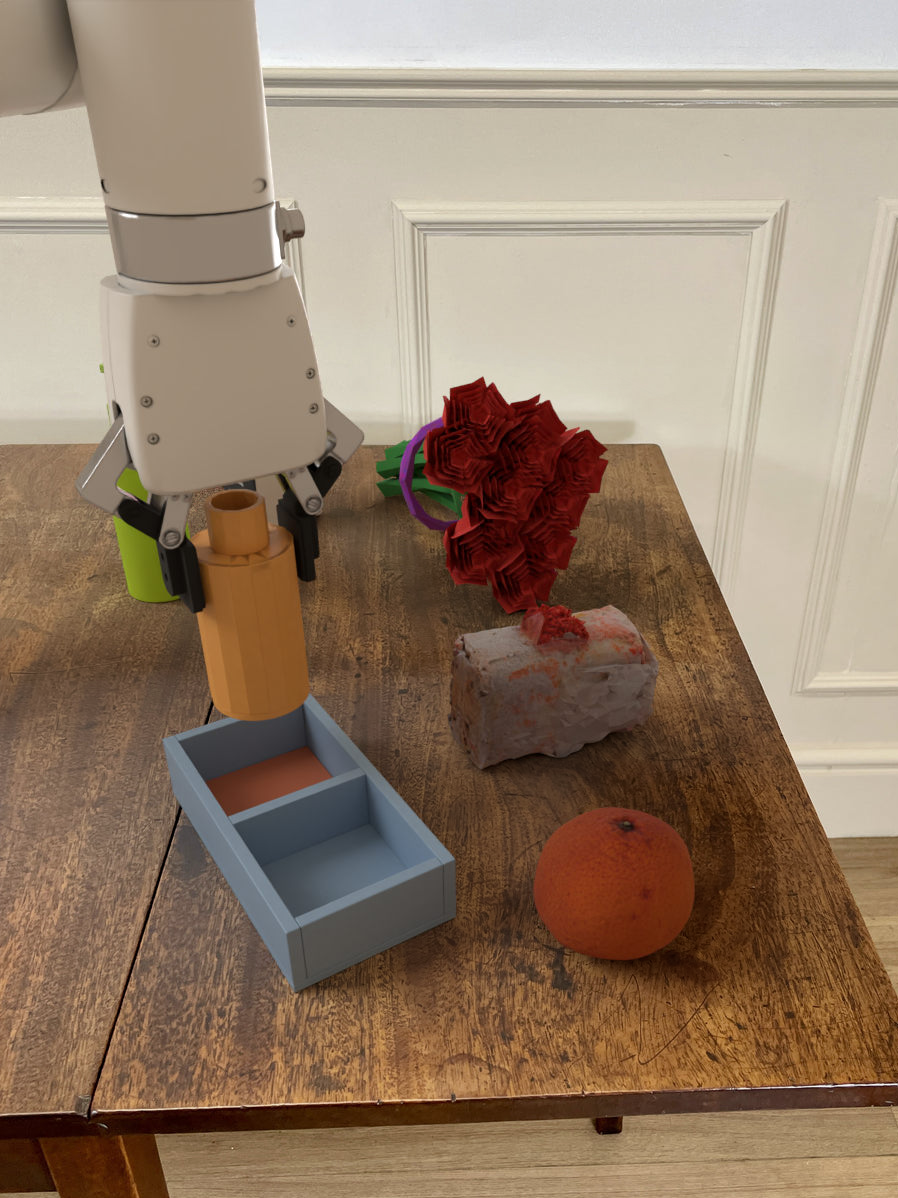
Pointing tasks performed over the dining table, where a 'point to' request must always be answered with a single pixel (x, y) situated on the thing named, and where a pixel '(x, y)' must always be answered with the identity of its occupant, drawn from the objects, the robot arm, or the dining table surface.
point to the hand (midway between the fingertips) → (245, 584)
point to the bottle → (250, 609)
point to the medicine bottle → (265, 493)
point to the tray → (311, 839)
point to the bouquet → (499, 488)
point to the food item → (549, 684)
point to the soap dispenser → (139, 547)
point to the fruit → (614, 884)
